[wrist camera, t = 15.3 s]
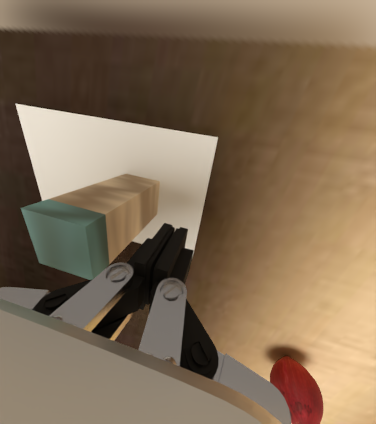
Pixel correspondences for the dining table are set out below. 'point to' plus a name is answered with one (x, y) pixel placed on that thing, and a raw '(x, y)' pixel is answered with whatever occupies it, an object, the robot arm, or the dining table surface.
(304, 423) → the onion
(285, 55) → the dining table surface
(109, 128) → the mat
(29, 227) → the block
